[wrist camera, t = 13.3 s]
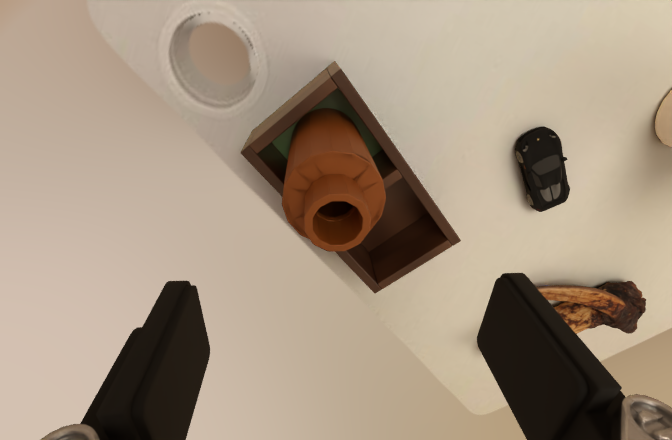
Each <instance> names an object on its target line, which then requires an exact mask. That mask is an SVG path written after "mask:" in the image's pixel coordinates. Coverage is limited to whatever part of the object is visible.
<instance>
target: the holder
mask: <svg viewBox="0 0 672 440" xmlns="http://www.w3.org/2000/svg"><path fill="white" fill-rule="evenodd" d="M320 108H332V109H336V110H339V111H341V112H343V113H345V114H346V115H347V116H349V117H350V118H351V119H352V121H353V122H354V123H355V125H356V127H357V128H358V130H359V132H360V134H361V136H362V138H363V140H364V142H365V144H366V146H367V148H368V150H369V152H370V154H371V157H372V159H373V161H374V163H375V165H376V167H377V169H378V171H379V173H380V175H381V177H382V180H383V184H384V189H385V194H386V200H385V204H384V208H383V212H382V215H381V217H380V218H379V220H378V221H377V222H376V224H375V225H374V226H373V228H372V229H371V230H370V231H369V233H368V234H367V235H366V237H365V238H364V239H363V241H362V242H361V243H360V244H359V245H357V246H355V247H353V248H351V249H348V250H346V251H335V252H336V253H337V254H338V255H339V257H340V258H341V259H342V260H343V261H344V262H345V263H346V264H347V265H348V266H349V267H350V268H351V269H352V270H353V271H354V272H355V273H356V274H357V275H358V276H359V277H360V279H361V280H362V281H363V282H364V283H365V284H366V285H367V286H368V287H369V288H370V289H371V290H372V291H373V292H374V293H377V292H378V291H380V290H381V289H383V288H385V287H387V286H388V285H390V284H391V283H393V282H395V281H396V280H398V279H400V278H401V277H403V276H404V275H406V274H408V273H409V272H411V271H413V270H414V269H416V268H417V267H419V266H421V265H422V264H424V263H426V262H427V261H429V260H430V259H432V258H434V257H435V256H437V255H439V254H440V253H442V252H443V251H445V250H447V249H448V248H450V247H452V245H455V244H457V243H458V242H460V241H461V240H460V238H459V237H458V235H457V234H456V233H455V231H454V230H453V228H452V227H451V225H450V224H449V223H448V221H447V220H446V218H445V217H444V215H443V214H442V213H441V211H440V210H439V208H438V207H437V205H436V204H435V203H434V201H433V200H432V198H431V197H430V195H429V194H428V193H427V191H426V190H425V188H424V187H423V185H422V184H421V183H420V181H419V180H418V178H417V177H416V175H415V174H414V173H413V171H412V170H411V168H410V167H409V165H408V164H407V163H406V161H405V160H404V158H403V157H402V155H401V154H400V153H399V151H398V150H397V148H396V147H395V145H394V144H393V143H392V141H391V140H390V138H389V137H388V135H387V134H386V133H385V131H384V130H383V128H382V127H381V125H380V124H379V123H378V121H377V120H376V118H375V117H374V115H373V114H372V113H371V111H370V110H369V108H368V107H367V105H366V104H365V102H364V101H363V100H362V98H361V97H360V95H359V94H358V92H357V91H356V90H355V88H354V87H353V85H352V84H351V82H350V81H349V80H348V78H347V77H346V75H345V74H344V72H343V71H342V70H341V68H340V67H339V66H338V64H337V63H336V62H335V61H334V62H333V63H332V64H331V65H329V66H328V67H327V68H326V69H325V70H324V71H322V72H321V73H320V74H319V75H318V76H317V77H315V78H314V79H313V80H312V81H311V82H309V83H308V84H307V85H306V86H305V87H304V88H302V89H301V90H300V91H299V92H298V93H296V94H295V95H294V96H293V97H292V98H291V99H289V100H288V101H287V102H286V103H285V104H283V105H282V106H281V107H280V108H279V109H278V110H276V111H275V112H274V113H273V114H272V115H270V116H269V117H268V118H267V119H266V120H265V121H263V122H262V123H261V124H260V125H259V126H257V127H256V128H255V129H254V130H253V131H252V132H251V134H250V136H249V138H248V140H247V142H246V143H245V145H244V147H243V149H242V151H241V154H242V155H243V156H244V157H245V158H246V159H247V160H248V161H249V162H250V163H251V164H252V165H253V166H254V167H255V168H256V170H257V171H258V172H259V173H260V174H261V175H262V176H263V177H264V178H265V179H266V180H267V181H268V182H269V183H270V184H271V185H272V186H273V187H274V188H275V189H276V190H277V192H278V193H279V194H280V195H281V196H282V197H283V188H284V181H285V175H286V168H287V162H288V156H289V150H290V143H291V137H292V133H293V131H294V128H295V126H296V124H297V123H298V121H299V120H300V119H301V118H302V117H303V116H304V115H306V114H307V113H309V112H311V111H313V110H316V109H320Z"/></svg>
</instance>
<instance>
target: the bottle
mask: <svg viewBox="0 0 672 440" xmlns="http://www.w3.org/2000/svg"><path fill="white" fill-rule="evenodd" d="M385 200H386V194H385V189H384V184H383V180H382V177H381V175H380V173H379V171H378V169H377V167H376V165H375V163H374V161H373V159H372V157H371V154H370V152H369V150H368V148H367V146H366V144H365V142H364V140H363V138H362V136H361V134H360V132H359V130H358V128H357V127H356V125H355V123H354V122H353V121H352V119H351V118H350V117H349V116H347V115H346V114H345V113H343V112H341V111H339V110H336V109H332V108H320V109H316V110H313V111H311V112H309V113H307V114H306V115H304V116H303V117H302V118H301V119H300V120H299V121H298V123H297V124H296V126H295V128H294V131H293V133H292V137H291V143H290V150H289V156H288V162H287V168H286V175H285V181H284V188H283V198H282V206H283V209H284V212H285V214H286V217H287V220H288V222H289V223H290V224H291V225H292V226H293V227H294V229H295V230H296V231H297V232H298V233H299V234H300V235H301V236H304V237H306V238H308V239H310V240H311V242H312V243H313V244H314V245H316V246H318V247H320V248H322V249H324V250H326V251H346V250H348V249H351V248H353V247H355V246H357V245H359V244H360V243H361V242H362V241H363V239H364V238H365V237H366V235H367V234H368V233H369V231H370V230H371V229H372V228H373V226H374V225H375V224H376V222H377V221H378V220H379V218H380V217H381V215H382V212H383V208H384V204H385Z"/></svg>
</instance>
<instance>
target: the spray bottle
mask: <svg viewBox="0 0 672 440" xmlns="http://www.w3.org/2000/svg"><path fill="white" fill-rule="evenodd" d="M655 130H656V135H657V136H658V137H659V139H660V140H661V141H662V143H663V144H665V145H667V146H670V147H672V90H671V91H670V92H669V94H668V95H667V96H666V97H665V99H664V100H663V101H662V104H661V106H660V108H659V110H658V112H657V115H656V120H655Z"/></svg>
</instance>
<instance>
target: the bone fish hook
mask: <svg viewBox="0 0 672 440" xmlns="http://www.w3.org/2000/svg"><path fill="white" fill-rule="evenodd" d="M536 288H537V289H538V290H539V291H540V292H541V294H542V295H543V296H544V297H545V298H546V299H547V300H557V301H566V302H563V303H561V304H560V305H559V306H556V307H554V309H555V310H556V311H557V312H558V314H559V315H560V316H561V317H562V318H563V319H564V321H565V322H566V323H567V324H568V325H569V326H570V328H571V329H572V330H573V331H574V332H575V333H576V334H577V333H579V332H581V331H583V330H585V329H587V328H595V327H597V326H599V325H602V324H605V325H607V326H610V327H612V328H618V329H620V330H621V331H623V332H625V333H633V332H634V331H635V330H636V329H637V321H638V319H639V318H640V317H641V316H642V314H643V313H644V312H645V305H646V303H645V301H646V299H645V298H641V297H642V292H641V291H640V290H638V289H637V287H636V285H635V284H634V283H633V282H632V281H627V282H621V283H617V282H616V283H609V282H607V283H606V284H605V285H602V286H601V287H599V288H598V289H596V288H590V287H583V286H568V285H554V286H539V287H536Z"/></svg>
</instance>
